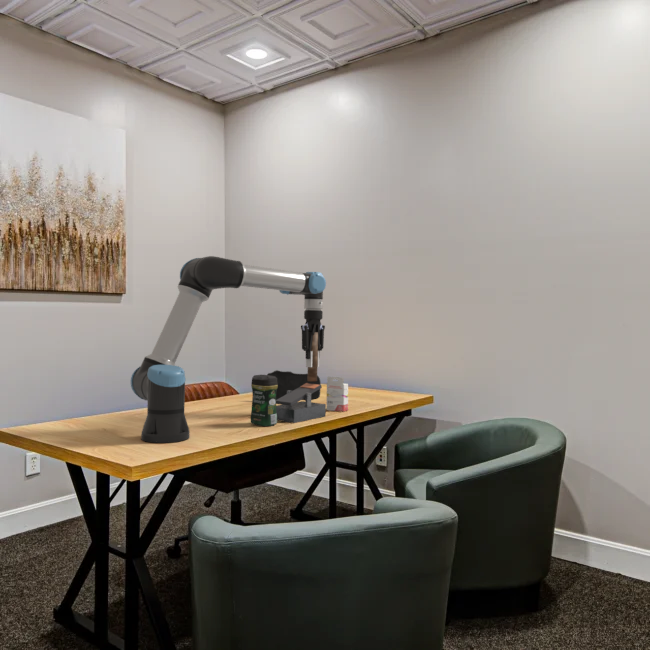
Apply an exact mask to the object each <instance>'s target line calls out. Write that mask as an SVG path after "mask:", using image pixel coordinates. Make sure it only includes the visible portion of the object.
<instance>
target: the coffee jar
mask: <svg viewBox="0 0 650 650" xmlns="http://www.w3.org/2000/svg"><path fill="white" fill-rule="evenodd" d="M277 387H278V383H277V378H276V377H275V376H270V375H267V374H254V375H253V376H252V378H251V390H252V401H251V411H250V424H252V425H254V426H259V427H272V426H273V427H274V426H275V425H276V424H277V423H278V420H277V411H276V406H277V404H276V391H277Z"/></svg>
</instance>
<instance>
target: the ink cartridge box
mask: <svg viewBox="0 0 650 650" xmlns="http://www.w3.org/2000/svg"><path fill="white" fill-rule="evenodd" d="M344 380H345V378H344V377H342V376H341V377H340V376H327V382H326V411H332V412H333V411H335V412H343V413H344V412H347V411H348V410H349V383H344Z"/></svg>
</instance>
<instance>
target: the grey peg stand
mask: <svg viewBox="0 0 650 650" xmlns="http://www.w3.org/2000/svg"><path fill="white" fill-rule="evenodd" d="M292 391H293V390H288V391H287V394H288V393H290V392H292ZM326 406H327V403H326V404H325V403H320V402H312V400H311V392H308V393H306V395H305V400H300V401H298V402H297V403H295V404H293V405H292V406H290V405H282V404H276V411H277V422H278V421H279V422H286V423H291V424H296V423H300V422H305V421H310V420H314V419H319V418H325V417H326V411H327V409H326Z"/></svg>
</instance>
